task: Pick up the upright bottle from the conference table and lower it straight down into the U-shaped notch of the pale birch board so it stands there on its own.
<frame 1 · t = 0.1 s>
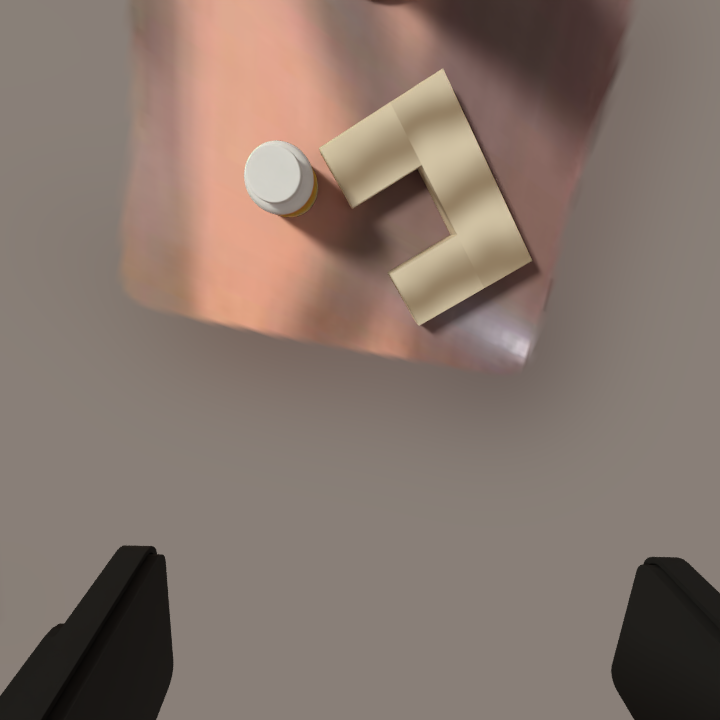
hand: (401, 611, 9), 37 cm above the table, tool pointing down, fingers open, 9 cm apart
supplement bottle: (289, 187, 41), on the table
notched board: (425, 208, 42), on the table
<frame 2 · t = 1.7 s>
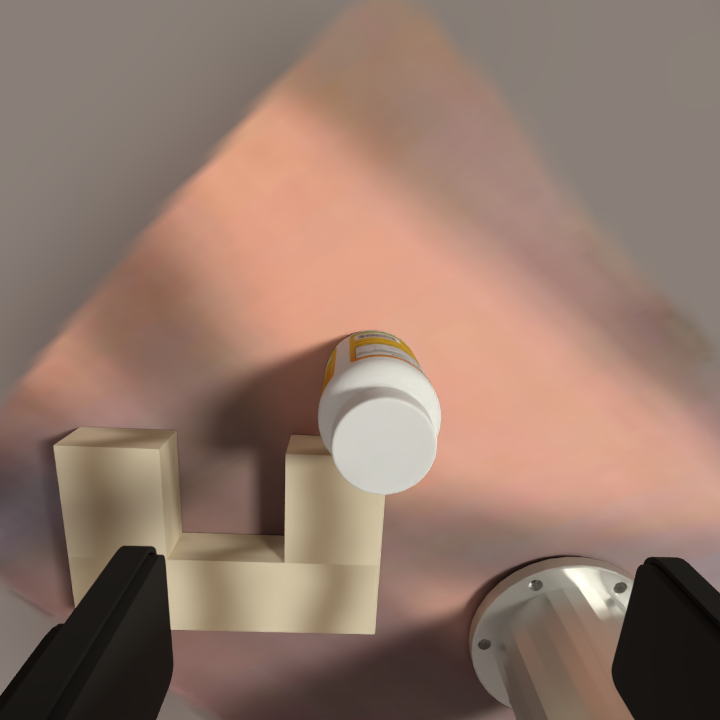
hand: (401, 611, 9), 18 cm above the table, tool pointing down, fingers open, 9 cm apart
supplement bottle: (371, 373, 26), on the table
notched board: (236, 520, 28), on the table
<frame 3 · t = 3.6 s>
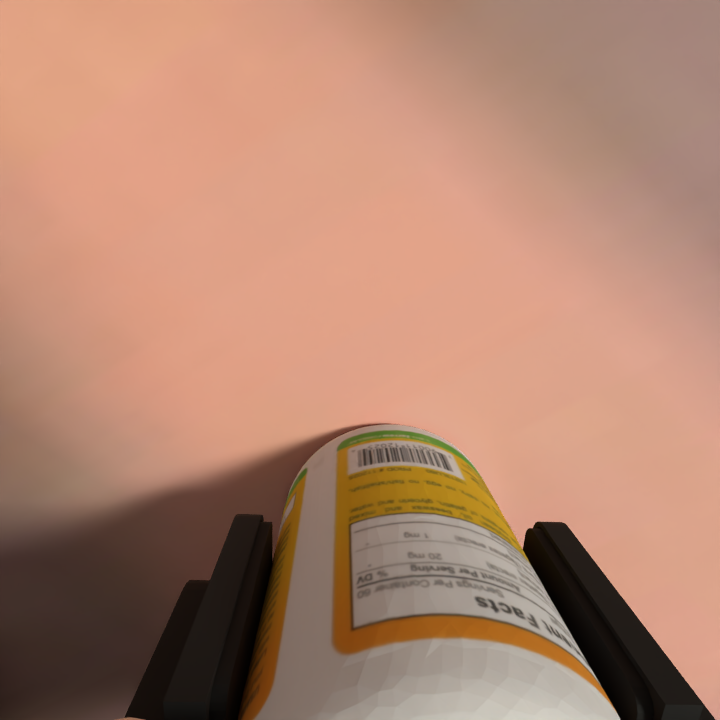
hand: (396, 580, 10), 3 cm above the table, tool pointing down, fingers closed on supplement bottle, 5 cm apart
supplement bottle: (385, 506, 12), on the table, touching gripper
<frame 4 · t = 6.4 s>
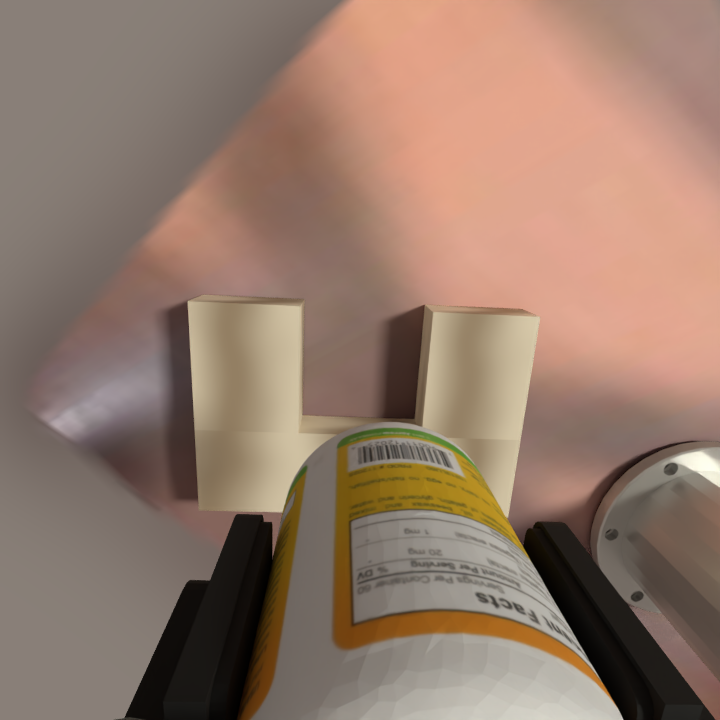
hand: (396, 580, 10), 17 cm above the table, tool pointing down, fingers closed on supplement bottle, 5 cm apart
supplement bottle: (385, 504, 12), point 14 cm above the table, touching gripper
notched board: (359, 401, 27), on the table
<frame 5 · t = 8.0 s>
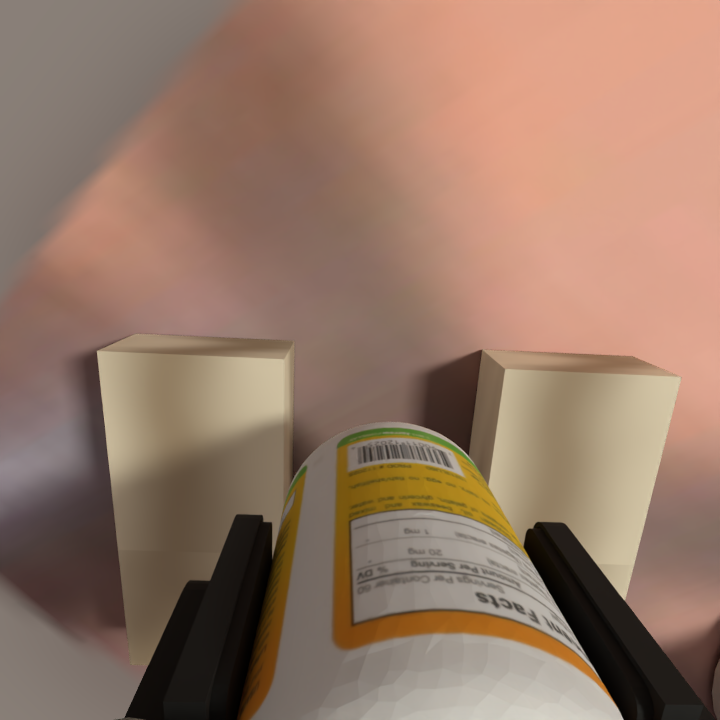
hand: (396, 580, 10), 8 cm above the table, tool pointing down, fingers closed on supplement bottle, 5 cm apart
supplement bottle: (385, 504, 12), point 5 cm above the table, touching gripper
notched board: (378, 492, 18), on the table
when the fingers open (4 cm above the table, at t = 9.2 s): supplement bottle drops 1 cm, on the table.
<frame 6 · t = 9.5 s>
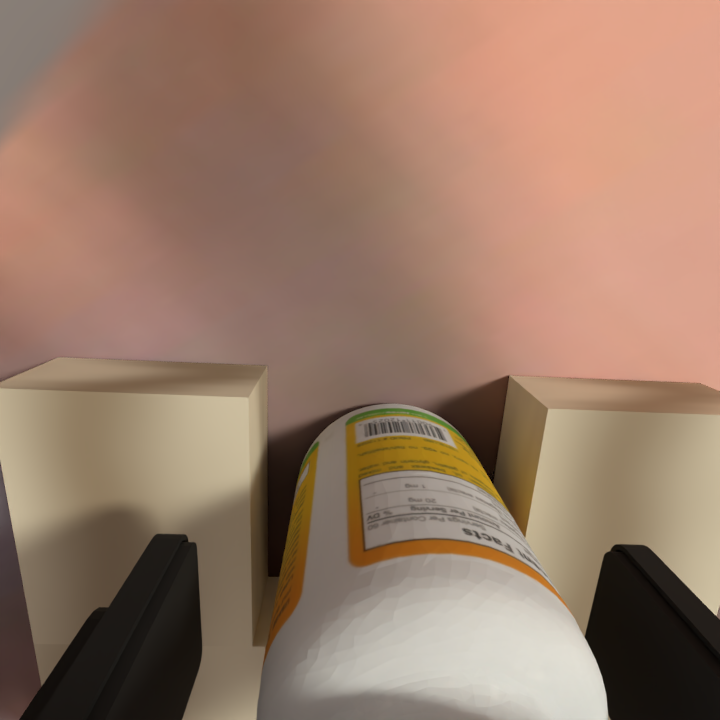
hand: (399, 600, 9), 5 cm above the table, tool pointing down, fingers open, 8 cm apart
supplement bottle: (387, 478, 14), on the table
notched board: (376, 552, 14), on the table
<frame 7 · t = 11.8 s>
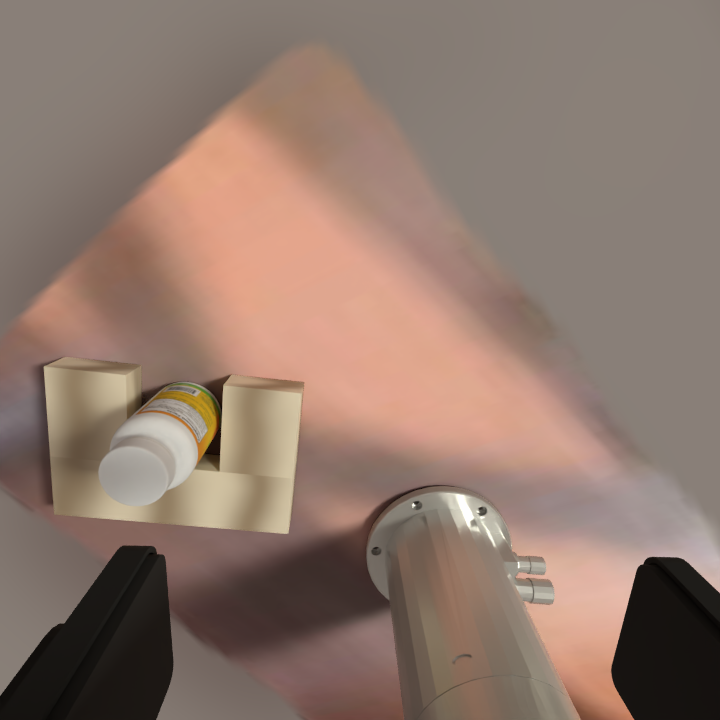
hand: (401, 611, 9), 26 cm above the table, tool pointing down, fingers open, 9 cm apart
supplement bottle: (189, 411, 35), on the table
notched board: (185, 440, 36), on the table
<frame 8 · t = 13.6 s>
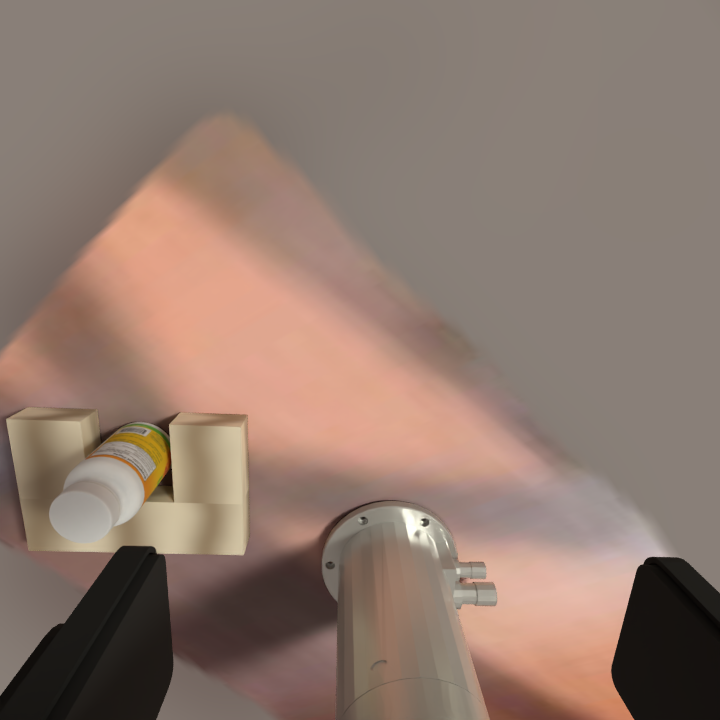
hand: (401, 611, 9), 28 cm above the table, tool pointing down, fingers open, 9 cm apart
supplement bottle: (145, 448, 39), on the table
notched board: (144, 475, 39), on the table
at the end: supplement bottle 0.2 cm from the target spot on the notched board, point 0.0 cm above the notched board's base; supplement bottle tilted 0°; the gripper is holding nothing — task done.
